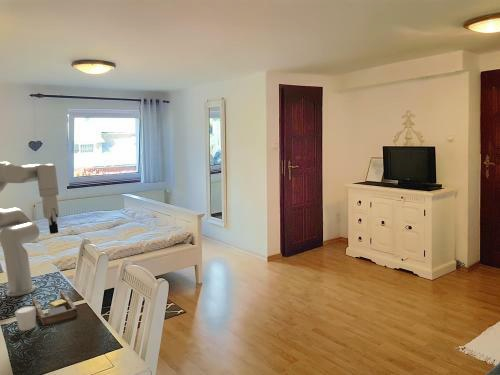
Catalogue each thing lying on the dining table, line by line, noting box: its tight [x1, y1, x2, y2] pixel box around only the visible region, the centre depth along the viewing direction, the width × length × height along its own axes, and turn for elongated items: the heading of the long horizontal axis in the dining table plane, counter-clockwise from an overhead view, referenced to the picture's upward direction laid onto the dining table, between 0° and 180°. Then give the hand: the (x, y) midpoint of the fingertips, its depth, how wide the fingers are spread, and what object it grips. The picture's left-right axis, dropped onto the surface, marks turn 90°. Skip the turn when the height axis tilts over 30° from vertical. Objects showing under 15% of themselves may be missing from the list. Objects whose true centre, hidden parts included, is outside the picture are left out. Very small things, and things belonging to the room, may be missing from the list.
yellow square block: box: [49, 298, 68, 310], centre depth 169 cm, size 5×5×3 cm
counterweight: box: [47, 306, 67, 315], centre depth 161 cm, size 6×6×3 cm
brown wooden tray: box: [31, 289, 78, 326], centre depth 168 cm, size 26×12×3 cm, turn 36°
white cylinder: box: [14, 305, 37, 332], centre depth 153 cm, size 7×7×7 cm
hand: (54, 233), depth 179 cm, fingers closed
